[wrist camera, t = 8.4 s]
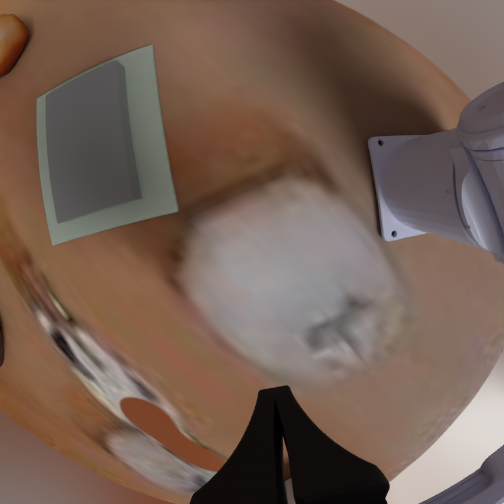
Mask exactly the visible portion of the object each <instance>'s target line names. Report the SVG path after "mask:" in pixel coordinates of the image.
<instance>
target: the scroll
mask: <svg viewBox="0 0 504 504" xmlns="http://www.w3.org/2000/svg"><path fill="white" fill-rule="evenodd" d="M3 361H4V345H3V340H2V335H1V331H0V367H1V366H2V364H3Z"/></svg>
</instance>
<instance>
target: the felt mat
mask: <svg viewBox="0 0 504 504" xmlns="http://www.w3.org/2000/svg"><path fill="white" fill-rule="evenodd" d="M115 60H118V61H119V62H120V63H121V64H122V65H123V66H124V67H125V79H126V91H127V102H128V111H129V120H130V128H131V136H132V143H133V150H134V156H135V162H136V168H137V174H138V180H139V185H140V190H141V196H142V199H140V200H136V201H133V202H129V203H126V204H122V205H119V206H115V207H112V208H109V209H105V210H102V211H99V212H96V213H93V214H90V215H86V216H83V217H80V218H77V219H74V220H71V221H68V222H64V223H59V224H57V219H56V214H55V208H54V202H53V196H52V190H51V183H50V175H49V166H48V156H47V142H46V114H45V104H46V95H47V94H49V93H51V92H52V91H54V90H56V89H58V88H59V87H61V86H63V85H65V84H67V83H68V82H70V81H72V80H74V79H76V78H78V77H80V76H82V75H84V74H86V73H88V72H90V71H92V70H94V69H97V68H99V67H101V66H103V65H106V64H108V63H110V62H113V61H115ZM37 146H38V160H39V171H40V180H41V187H42V194H43V201H44V207H45V213H46V218H47V223H48V228H49V233H50V237H51V241H52V246H53V245H56V244H59V243H63V242H66V241H69V240H72V239H76V238H79V237H83V236H86V235H89V234H93V233H96V232H100V231H104V230H107V229H111V228H115V227H118V226H122V225H126V224H130V223H134V222H137V221H141V220H145V219H149V218H153V217H157V216H162V215H166V214H170V213H174V212H178V211H179V209H178V204H177V199H176V194H175V189H174V184H173V179H172V173H171V168H170V162H169V157H168V151H167V145H166V139H165V133H164V127H163V120H162V113H161V106H160V99H159V92H158V84H157V75H156V67H155V57H154V47H153V45H148V46H146V47H143V48H140V49H137V50H134V51H131V52H129V53H126V54H124V55H121V56H119V57H116V58H114V59H111V60H109V61H107V62H104V63H102V64H100V65H98V66H95V67H93V68H91V69H89V70H87V71H85V72H83V73H81V74H79V75H77V76H75V77H73V78H71V79H69V80H67V81H66V82H64V83H62V84H60V85H58V86H57V87H55V88H53V89H52V90H50V91H48V92H47V93H45V94H43V95H42V96H40V97H38V98H37Z"/></svg>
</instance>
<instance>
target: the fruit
mask: <svg viewBox="0 0 504 504" xmlns="http://www.w3.org/2000/svg"><path fill="white" fill-rule="evenodd" d="M27 39H28V28H27V27H26V26H25V25H24V23H23V22H22V21H21V20H20V19H19V18H18V17H16V16H15V15H13V14H10V15H6V14H3V15H0V77H1V76H4V75H6V74H7V73H9V72H10V71H11V69H12V68H13V66H14V65H15V63H16V61H17V60H18V58H19V56H20V54H21V52H22V51H23V49H24V46H25V44H26V42H27Z"/></svg>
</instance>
